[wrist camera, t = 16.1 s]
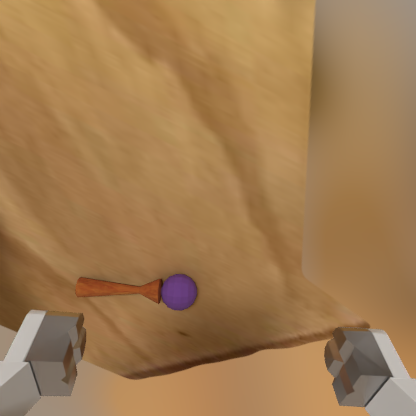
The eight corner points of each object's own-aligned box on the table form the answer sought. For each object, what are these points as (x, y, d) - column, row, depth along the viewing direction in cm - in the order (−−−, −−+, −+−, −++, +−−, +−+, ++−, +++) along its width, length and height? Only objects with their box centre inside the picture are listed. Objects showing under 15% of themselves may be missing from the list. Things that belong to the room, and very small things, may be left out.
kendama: (69, 283, 53) (195, 289, 52) (84, 262, 58) (198, 267, 58) (74, 313, 55) (195, 318, 55) (88, 290, 61) (197, 295, 60)
